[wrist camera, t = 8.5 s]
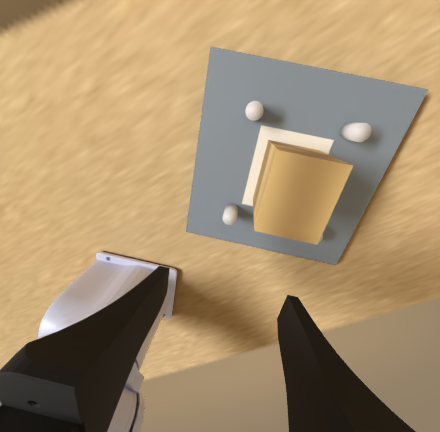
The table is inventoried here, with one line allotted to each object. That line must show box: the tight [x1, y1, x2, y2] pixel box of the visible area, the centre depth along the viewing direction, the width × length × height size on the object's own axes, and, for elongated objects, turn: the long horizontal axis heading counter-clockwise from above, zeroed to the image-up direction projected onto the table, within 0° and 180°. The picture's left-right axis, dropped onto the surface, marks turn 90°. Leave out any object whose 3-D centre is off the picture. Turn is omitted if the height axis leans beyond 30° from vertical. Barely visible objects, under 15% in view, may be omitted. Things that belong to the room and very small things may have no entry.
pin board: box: [186, 47, 428, 265], centre depth 17 cm, size 15×15×3 cm
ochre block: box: [253, 140, 353, 245], centre depth 15 cm, size 4×5×6 cm
